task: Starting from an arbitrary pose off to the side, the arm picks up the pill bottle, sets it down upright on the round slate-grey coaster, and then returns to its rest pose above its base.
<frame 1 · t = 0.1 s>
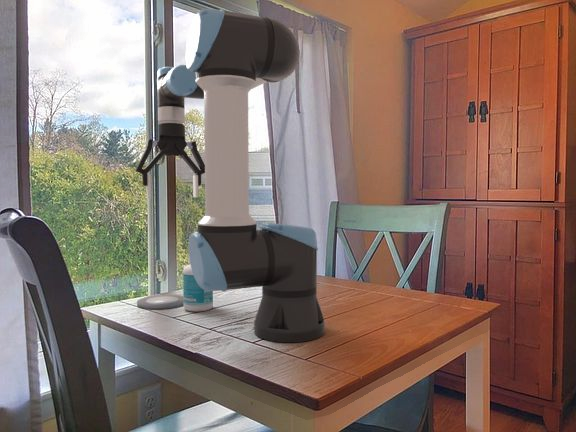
hand: (172, 197, 139), 28 cm above the table, fingers open, 13 cm apart
coaster: (162, 303, 128), on the table
pill bottle: (198, 309, 123), on the table
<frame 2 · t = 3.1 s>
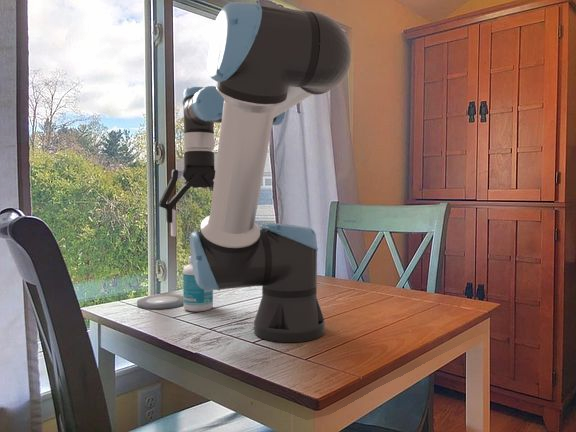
hand: (200, 234, 122), 19 cm above the table, fingers open, 13 cm apart
nothing on the table moved.
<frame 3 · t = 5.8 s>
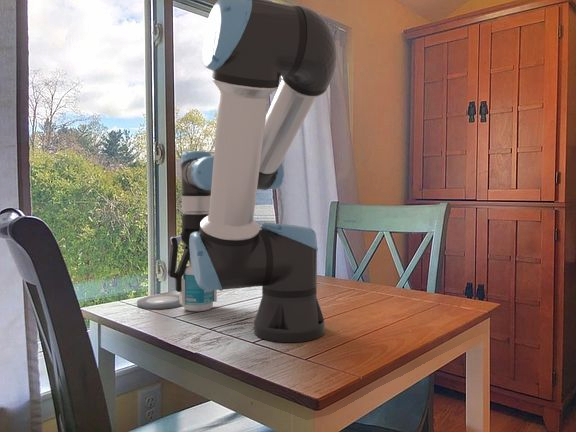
hand: (198, 302, 122), 2 cm above the table, fingers closed on pill bottle, 7 cm apart
pill bottle: (198, 309, 123), on the table, touching gripper
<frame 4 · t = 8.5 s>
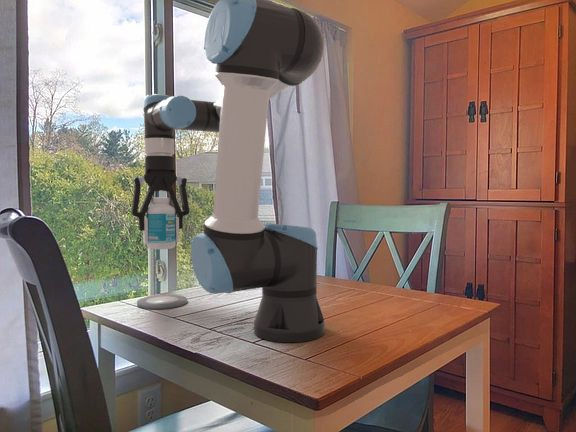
hand: (161, 242, 127), 16 cm above the table, fingers closed on pill bottle, 7 cm apart
pill bottle: (161, 248, 128), point 15 cm above the table, touching gripper
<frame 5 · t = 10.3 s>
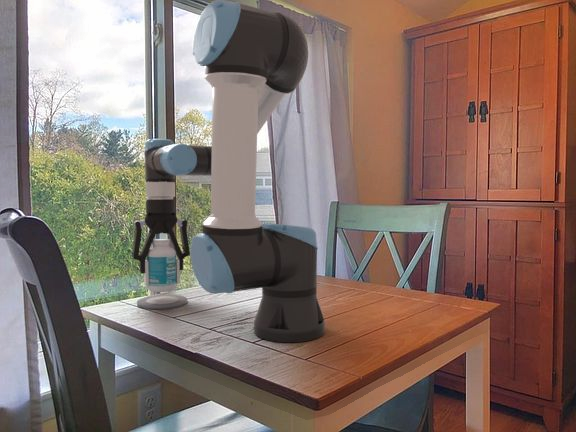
hand: (162, 283, 128), 5 cm above the table, fingers closed on pill bottle, 7 cm apart
pill bottle: (162, 290, 128), point 3 cm above the table, touching gripper
when the fingers open (4 cm above the table, at t = 11.4 s): pill bottle drops 1 cm, resting on coaster.
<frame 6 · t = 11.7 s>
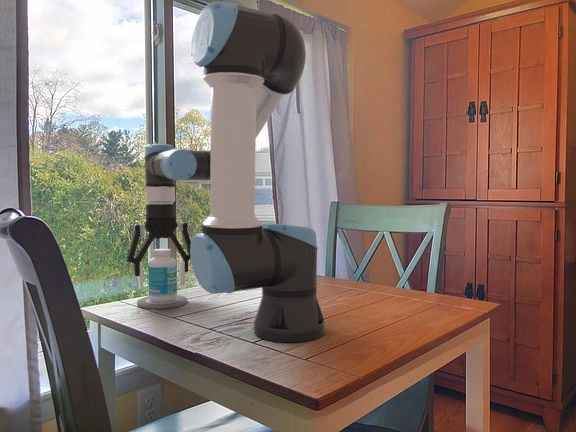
hand: (162, 286, 128), 5 cm above the table, fingers open, 10 cm apart
pill bottle: (162, 300, 128), point 1 cm above the table, touching coaster
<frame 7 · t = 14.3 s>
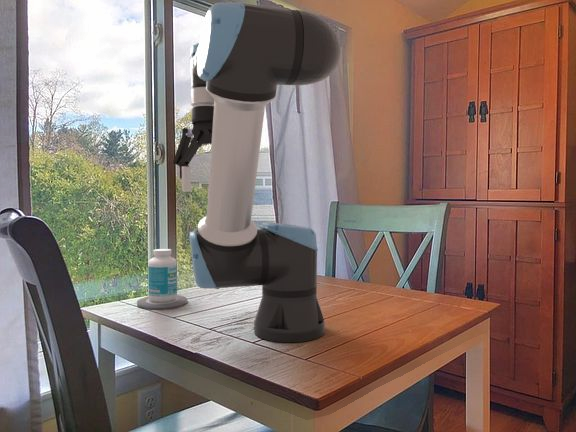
hand: (207, 191, 122), 30 cm above the table, fingers open, 13 cm apart
nothing on the table moved.
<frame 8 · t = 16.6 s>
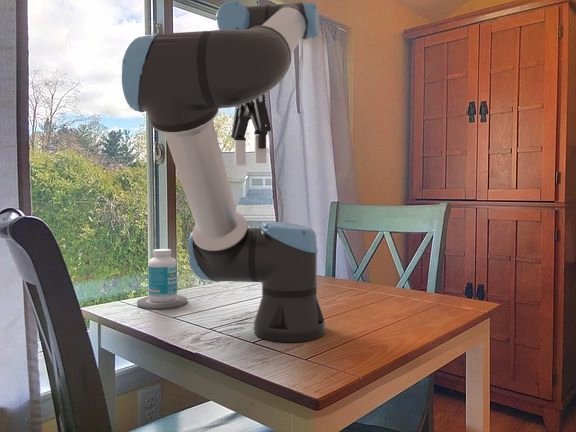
hand: (249, 164, 120), 37 cm above the table, fingers open, 13 cm apart
nothing on the table moved.
at the end: pill bottle 0.1 cm from the coaster (horizontally); pill bottle tilted 0°; the gripper is holding nothing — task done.
